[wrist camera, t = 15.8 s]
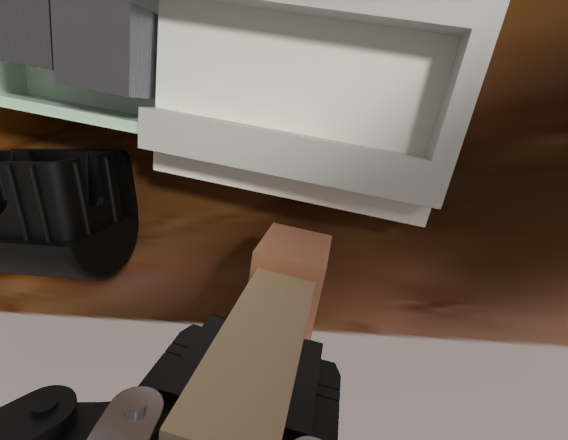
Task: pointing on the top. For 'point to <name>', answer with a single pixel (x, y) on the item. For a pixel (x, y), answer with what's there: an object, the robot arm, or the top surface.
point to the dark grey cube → (26, 33)
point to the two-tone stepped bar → (256, 345)
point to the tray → (69, 95)
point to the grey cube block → (105, 46)
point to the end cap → (67, 212)
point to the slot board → (320, 97)
